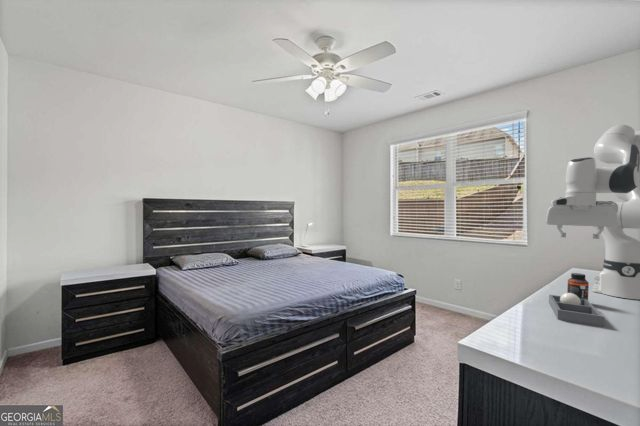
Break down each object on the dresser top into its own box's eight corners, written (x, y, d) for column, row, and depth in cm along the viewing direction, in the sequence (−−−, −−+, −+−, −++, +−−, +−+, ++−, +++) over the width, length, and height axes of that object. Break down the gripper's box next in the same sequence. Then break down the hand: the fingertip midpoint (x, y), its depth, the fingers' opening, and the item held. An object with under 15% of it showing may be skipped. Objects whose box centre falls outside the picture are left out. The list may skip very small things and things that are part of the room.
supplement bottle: (588, 307, 108) (589, 276, 108) (567, 304, 112) (568, 274, 111) (587, 303, 113) (588, 273, 113) (566, 300, 116) (567, 271, 116)
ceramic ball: (558, 305, 108) (558, 290, 108) (578, 308, 105) (579, 292, 105) (561, 309, 103) (561, 293, 103) (582, 313, 100) (582, 296, 100)
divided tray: (548, 304, 111) (549, 294, 111) (586, 309, 106) (586, 299, 106) (557, 321, 94) (557, 309, 94) (603, 328, 88) (603, 316, 88)
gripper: (615, 201, 109) (614, 239, 109) (545, 201, 120) (544, 235, 120) (621, 200, 104) (620, 240, 104) (547, 200, 114) (546, 237, 114)
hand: (579, 238), depth 112 cm, fingers open, 8 cm apart
